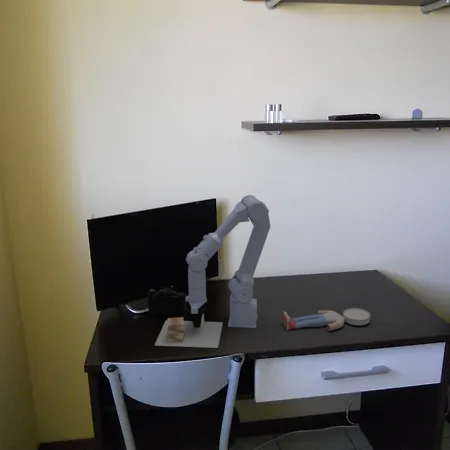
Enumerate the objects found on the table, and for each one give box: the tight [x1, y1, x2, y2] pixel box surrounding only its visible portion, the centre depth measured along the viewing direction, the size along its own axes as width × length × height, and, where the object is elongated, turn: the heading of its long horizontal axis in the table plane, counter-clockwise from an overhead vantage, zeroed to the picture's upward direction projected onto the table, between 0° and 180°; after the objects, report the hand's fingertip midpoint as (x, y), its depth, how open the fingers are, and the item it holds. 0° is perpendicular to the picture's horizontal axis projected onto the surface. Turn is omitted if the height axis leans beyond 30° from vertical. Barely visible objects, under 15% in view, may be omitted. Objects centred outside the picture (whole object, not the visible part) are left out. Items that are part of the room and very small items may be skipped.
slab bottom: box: [167, 326, 185, 342], centre depth 157 cm, size 5×5×3 cm
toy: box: [281, 307, 371, 332], centre depth 166 cm, size 6×13×30 cm
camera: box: [147, 287, 187, 319], centre depth 176 cm, size 14×11×10 cm
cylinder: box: [192, 314, 205, 330], centre depth 164 cm, size 4×4×4 cm
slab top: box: [167, 317, 185, 334], centre depth 156 cm, size 5×5×3 cm
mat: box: [154, 319, 224, 349], centre depth 160 cm, size 20×17×1 cm
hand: (198, 323), depth 164 cm, fingers open, 4 cm apart
